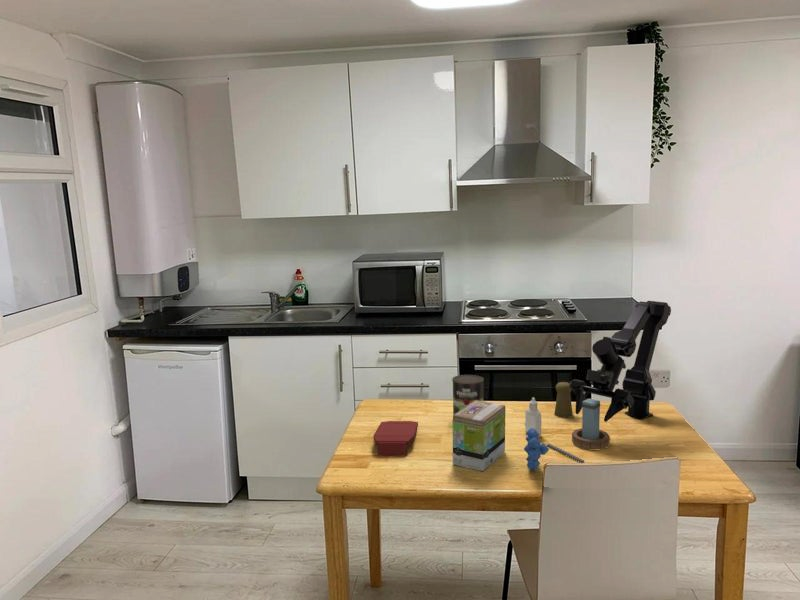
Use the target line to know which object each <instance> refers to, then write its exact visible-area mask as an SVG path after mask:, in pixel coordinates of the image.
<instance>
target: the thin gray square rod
mask: <svg viewBox="0 0 800 600" xmlns="http://www.w3.org/2000/svg"><path fill="white" fill-rule="evenodd" d="M546 446H547V447H548V449H552V450H553V451H555V450H556V452H557V451H558V452H557V453H559V452H560V454H561V453H562V454H561V455H564V456H566V455H567V456H566V457H568V456H569V457H568V458H570V457H571V458H570V459H572V458H573V459H572V460H574V459H575V460H574V461H576V460H577V461H576V462H578V461H579V462H578V463H580V462H584V463H585V460H584V459H582V458H580V457H578V456H576V455H573V454H572V453H570V452H567V451H565V450H564V449H562V448H559V447H557V446H555V445H553V444H551V443H547V444H546Z"/></svg>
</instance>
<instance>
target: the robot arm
mask: <svg viewBox="0 0 800 600" xmlns="http://www.w3.org/2000/svg"><path fill="white" fill-rule="evenodd" d="M671 314H672V308H671V306H670V305H669V304H668V302H665V301H657V300H656V301H655V300H647V301H637V302H636V305H635V308H634V310H633V312H632V313H631V314H630V316H629V317H628V320H627V321H626V323H625V324H624V325H623V328H622V329H620V330H619V331H616V332H614V334H613V335H611V337H609V336H603V337H602V339H599V340H597V341H596V342H595V343H593V345H592V349H591V350H592V352H593V354H594V355H595V357H596V358H597V359H598V362H599V363H600V364H601V368H600V369H597V370H594V369H587V373H586V378H585V380H586V381H589V384H590V385H591V386H590V385H588V384H587V383H586V382H585V381H584V380H581V379H575V378H574V379H572V380H570V382H569V384H570V385H569V386H570V388H571V389H572V392H573V393H574V395H575V414H576V415H579V413H580V412H581V411H582V404H583V401H584V400H587V399H588V398H587V396H588V395H589V394H592V395H597V396H601V397H605V398H606V397H607V398H609V399H611V401H610V404H609V406H608V408H607V410H606V413H605V415H604V418H603V421H604V423H606V422H608V421H609V420H610V419H612V418H613V417H614V416H616V414H618V413H620V412H621V411H623V410H627V411H625V412H624V414H625V415H627V416H630V417H633V418H635V419H638V420H642V419H646V418H648V417H652V416H654V414H653V413H652V412H650V402H651V401H654V400H655V397H656V393H657V391H656V390H655V387H654V386H653V384H652V382H653V378H652V376H651V372H650V368H651V363H652V360H653V356H654V352H655V348H656V345H657V341H658V337H659V333H660V329H661V328H663V326H665V325H666V324H667V322H668V320H669V317H670V316H671ZM642 329H643V330H642ZM641 331H642V333H641ZM640 333H641V337H640V341H639V345H638V349H637V348H636V347H637V342H636V340H637V338H638V336H639V334H640ZM636 349H637V352H636V356H635V361H634V364H633V366H632V367H631V368H627V365H626V363H625V359H623V358H622V357H625V358H630V357H632V356H633V354H635V351H636ZM626 368H627V369H626ZM623 369H624V370H625V369H626V371H625V375H624V378H623V380H622V384H621V385H622V386H621V387H622V388H616V389H615V387H616V386H617V385H619V383H620V381H619V377H620V375H621V372H622V370H623Z"/></svg>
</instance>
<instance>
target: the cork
mask: <svg viewBox="0 0 800 600" xmlns="http://www.w3.org/2000/svg"><path fill="white" fill-rule="evenodd" d="M569 385H570V382H566V381H561V382H557V384H556V385H555V390H556V392H557V393H556V400H555V406H554V407H555V408H554V416H555V417H557V418H562V419H564V418H565V419H566V418H567V419H568V418H571V417H573V416H574V414H573V407H572V406H573V405H572V399H571V392H573V390H572V389H571V388H570V386H569Z"/></svg>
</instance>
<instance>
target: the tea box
mask: <svg viewBox="0 0 800 600" xmlns="http://www.w3.org/2000/svg"><path fill="white" fill-rule="evenodd" d="M505 452H506V405H505V404H500V403H494V402H489V401H488V402H487V401H484V400H483V401H477V400H475V401H474V402H472V403H471V404H469V405H468V406H466V407H465V408H463V409H462V410H460V411H459V412H457V413H455V414H454V415H453V414H452V465H455V466H459V467H464V468H467V469H471V470H476V471H481V472H484V471H485V470H486V469H487V468H488V467H490V466H491V465H492V464H493V463H494V462H495V461H496V460H498V458H500V457H501V456H502V455H504V454H505Z"/></svg>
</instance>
